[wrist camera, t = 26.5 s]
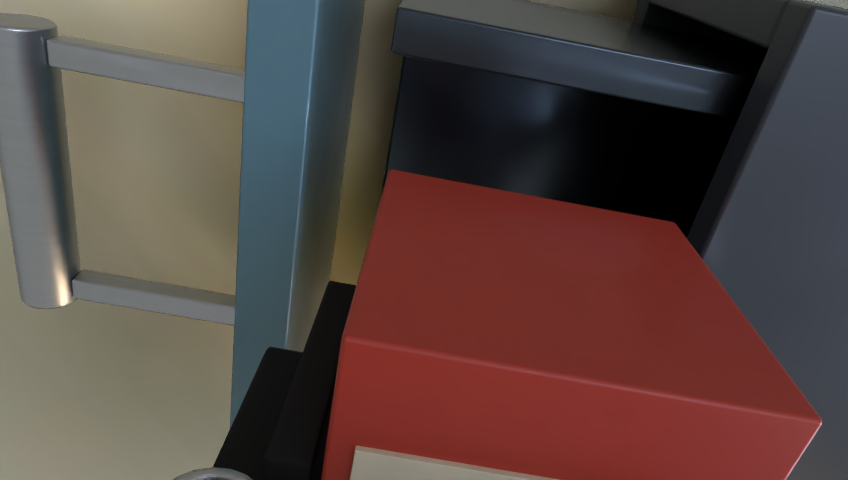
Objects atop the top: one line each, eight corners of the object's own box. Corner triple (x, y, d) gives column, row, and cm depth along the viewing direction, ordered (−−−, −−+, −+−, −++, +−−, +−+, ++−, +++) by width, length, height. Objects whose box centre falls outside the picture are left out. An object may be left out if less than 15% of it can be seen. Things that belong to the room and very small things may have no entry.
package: (675, 221, 10) (831, 426, 6) (553, 515, 13) (597, 779, 9) (388, 167, 9) (339, 341, 5) (337, 480, 13) (283, 733, 9)
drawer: (114, 286, 21) (-21, 430, 15) (86, -119, 15) (-148, -148, 9) (685, 385, 22) (773, 557, 16) (857, 36, 16) (1094, 100, 10)
